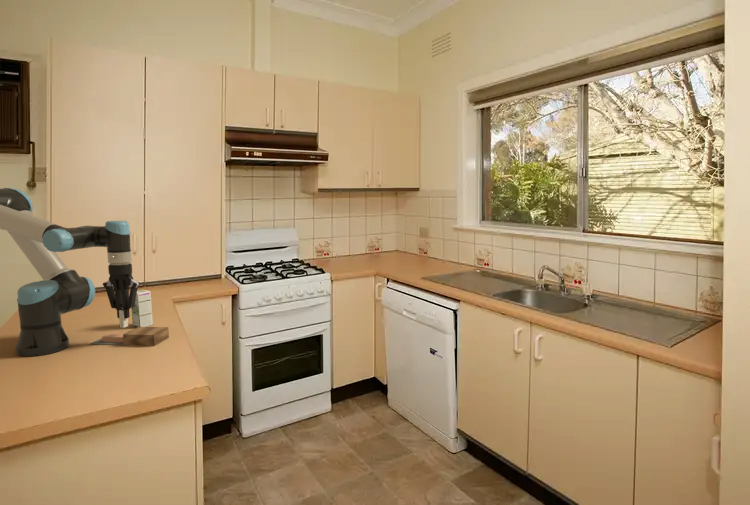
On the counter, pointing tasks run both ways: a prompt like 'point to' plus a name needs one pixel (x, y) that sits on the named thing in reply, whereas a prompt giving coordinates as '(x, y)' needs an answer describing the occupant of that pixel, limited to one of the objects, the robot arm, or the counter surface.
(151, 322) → the syrup box
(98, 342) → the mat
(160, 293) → the counter surface
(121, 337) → the salmon orange flat block
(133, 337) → the brown wooden flat block
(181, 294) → the counter surface
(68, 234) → the robot arm
